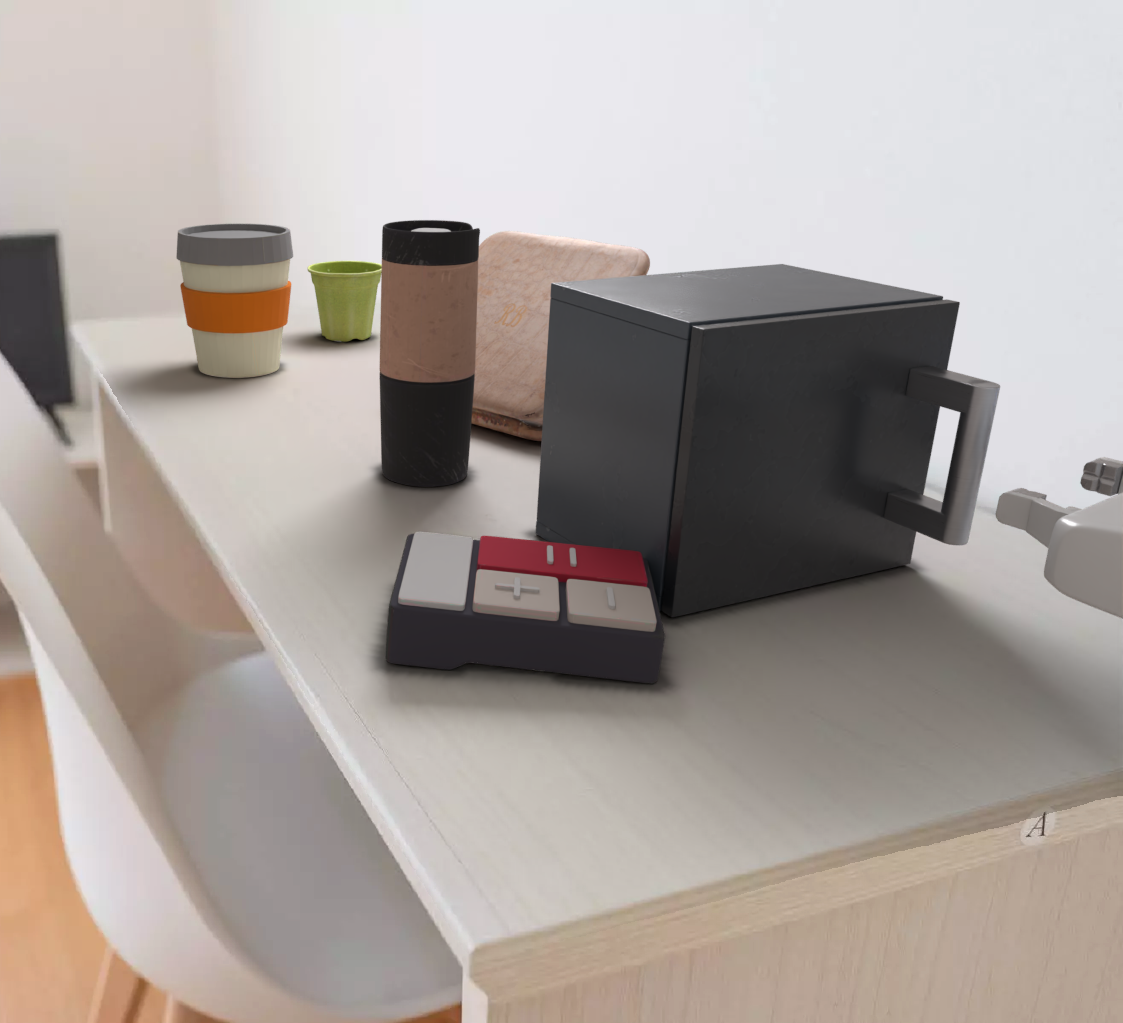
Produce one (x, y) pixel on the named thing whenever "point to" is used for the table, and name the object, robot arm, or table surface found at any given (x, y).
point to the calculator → (524, 607)
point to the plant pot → (346, 297)
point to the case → (528, 318)
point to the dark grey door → (818, 451)
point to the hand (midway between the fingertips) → (1047, 486)
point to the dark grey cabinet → (648, 390)
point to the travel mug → (427, 350)
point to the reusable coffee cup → (236, 295)
